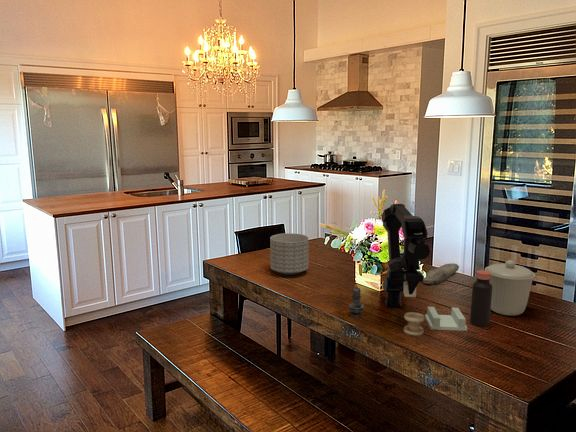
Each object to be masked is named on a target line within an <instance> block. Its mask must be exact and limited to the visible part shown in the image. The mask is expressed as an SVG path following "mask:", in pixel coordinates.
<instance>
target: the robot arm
mask: <svg viewBox="0 0 576 432" xmlns="http://www.w3.org/2000/svg"><path fill="white" fill-rule="evenodd" d="M380 221H381V222H382V226H383V228H384V230H385V231H386V232H387V247H388V260H387V264H388V270H387V271H386V273H385V278H384V280H383V282H382V290H383V291H384V292H385V293H386V299H385V300H384V303H385V306H386V307H388V308H389V307H392V308H395V307H396V308H403V303H402V292H403V289H404V281H405V282H406V281H407V283H408V290H409V294H413V292H414V290H415V288H416V289H417V286H418V285H419V284H420V283H423V279H424V275H423V272H421V267H420V260H421V261H422V260H425V259H427V258H428V257H429V255H430V253H431V249H430V246H429V245H428V244H426V240H427V239H428V230H427V226H426V224H425V221H424V220H423V219H422V218H421V217H419V216H417V215H413V214H412V213H411V212H410V211H409V210H408V209H407V208H406V205H405V204H403V203H393V204H391V205H390V206H389V207H387V208H385V209H384V210H383V211H382V213H381V220H380ZM400 231H401V232H402V234H403V237H404V239H403V240H404V241H403V252H402V253H401V249H400V248H401V244H400Z"/></svg>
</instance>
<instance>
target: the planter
mask: <svg viewBox="0 0 576 432" xmlns="http://www.w3.org/2000/svg"><path fill="white" fill-rule="evenodd" d="M269 239H270V240H269V241H270V242H269V243H270V244H269V246H270V247H269V248H270V249H269V252H270V253H269V254H270V257H269V261H270V265H269V266H270V269H271V270H273V271H275V272H277V273H279V274H281V275H283V276H284V275H285V276H294V275H295V276H296V275H299V274H300V273H302V272H304V271H306V270H308V269H309V237H308V235H305V234H302V233H294V232H293V233H291V232H289V233H288V232H287V233H285V232H283V233H277V234H274V235H271V236H270V237H269Z"/></svg>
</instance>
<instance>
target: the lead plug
mask: <svg viewBox="0 0 576 432" xmlns="http://www.w3.org/2000/svg"><path fill="white" fill-rule="evenodd" d="M402 293H403V295H404V297H405V298H406V297H408V298H416V297H417V287H416V288H415V290H414V292H413V294H409V290H408V283H407V281H406V282H405V281H404V289H403V291H402Z"/></svg>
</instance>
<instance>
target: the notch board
mask: <svg viewBox="0 0 576 432" xmlns="http://www.w3.org/2000/svg"><path fill="white" fill-rule="evenodd" d="M426 312H427V314H424V319H425V321H426V323H427V324H428V325H427V326H428V327H429V329H430V330H438V331H442V330H443V331H461V332H463V331H465V332H467V331H468V326H467V325H466V318H465V316H464V315H463V313H462V312H461V310H460V308H459V307H451V311H450V313H451V314H439V313H438V312H437V309H436V308H435V306H427V311H426Z"/></svg>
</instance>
